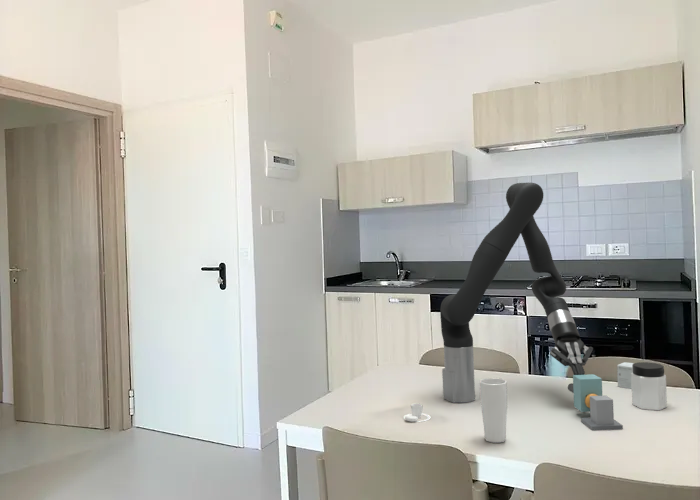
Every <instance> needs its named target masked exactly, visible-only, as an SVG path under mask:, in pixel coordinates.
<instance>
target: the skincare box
mask: <svg viewBox="0 0 700 500" xmlns="http://www.w3.org/2000/svg"><path fill="white" fill-rule="evenodd" d="M634 363H635V362H626V361H624V362H621V363H618V364H617V365H616V367H617V371H616V372H617V387H619V388H624V389H629V390H632V385H631V373H633V367H632V365H633V364H634Z"/></svg>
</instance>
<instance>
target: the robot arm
mask: <svg viewBox="0 0 700 500" xmlns="http://www.w3.org/2000/svg"><path fill="white" fill-rule="evenodd" d="M505 199H506V204H507V205H508V208H509V210H508V212H507V213H506V215H505V216H504V217H503V219H501V221H500V222H499V223H498V224H496V225H495V226H494V227H493V228H492V229H491V230H490V231H489V232H488V233H487V234H486V235H485V236H484V238H483V239H482V240H481V242H480V244H479V246H478V247H477V249H476V251H475V253H474V254H473V256H472V259H471V262H470V265H469V269H468V273H467V275H466V278H465V280H464V282H463V283H462V285H461V286H460V288H459V290H458V291H457V292H456V293H455V294H449V295H447V296H445V297H444V298H443V300H442V301H441V304H440V308H439V309H440V313H439V314H440V315H439V316H440V328H441V329H440V330H441V335H442V341H443V356H444V357H443V358H444V363H443V364H444V368H442V370H441V371H442V372H441V374H442V375H441V377H442V397H443V399H444V400H447V401H448V402H450V403H453V404H454V403H471V402H474V401H475V400H476V386H475V385H476V384H475V383H476V382H475V363H474V361H475V360H474V359H475V357H474V340H473V338H474V337H473V335H472V333H471V328H470V322H471V321H472V320H473V318H474V316H475V314H476V312H477V310H478V308H479V306H480V303H481V301H482V299H483V296H484V295H485V294H486V291H487V290H488V288H489V287H490V285H491V284H492V282H493V280H494V278H495V277H496V276H497V274H498V272H499V270H500V269H501V267H502V266H503V264H504V262H505V261H506V259H507V258H508V256H509V254H510V252H511V251H512V248H513V247H514V245H515V244H516V243H517V240H518V239H519V237H520V236H521V238H522V240H523V243H524V245H525V248H526V249H525V250H526V252H527V255H528V259H529V263H530V266H531V270H532V271H533V272H534V273H540V274H545V273H547V274H549V275H550V276H549V275H548V276H544V277H542V278H537V279H535V280H533V281H532V284H531V290H532V293H533V295H534V297H535V298H536V299H537V301H538V302H539V303H540V304H541V306H542V307H543V309H544V313H545V315H546V317H547V323H548V327H549V331H550V332H551V334H552V335H551V336H552V339H553V341H554V343H555V344H554V347H551V350H550V352H549V355H550V356H551V357H552V358H554V359H555V360H556V361H557V362H559V364H561V365H563V367H567V366H568V367H570V368H571V371H572V374H573V375H586V374H585V373H586V372H585V369H584V366H585V365H586V364H587V362H588V360H589V358H590V356H591V354H592V353H593V350H594V347H592V346H586V345H585V343H584V342H583V341H582V339H581V335H580V333H579V331H578V328H577V326H576V322H575V320H574V317H573V316H572V314H571V310H570V309H569V306H568V303H567V301H566V299H564V298H563V297H560V296H563V295H565V293H566V291H567V284H566V281H565V280H564V279H563V277H562V275H561V273H560V272H559V271H558V269H557V267H556V265H555V263H554V259H553V255H552V253H551V249H550V248H551V247H550V245H549V244H548V241H547V239H546V238H545V235H544V234H543V232H542V231H541V229H540V228H539V225H538V224H537V222H536V219H535V217H534V216H535V214H536V213H537V212H538V210H539V209H540V208H541V206H542V204H543V201H544V190H543V188H542V187H541V186H540V185H539V184H538V183H535V182H518V183H517V182H516V183H514V184H511V185H510V186H509V187H508V189H507V190H506V194H505ZM582 352H583V353H584V354H583V355H584V356H583V358H582V356H581V353H582Z"/></svg>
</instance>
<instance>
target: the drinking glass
mask: <svg viewBox="0 0 700 500" xmlns="http://www.w3.org/2000/svg"><path fill="white" fill-rule="evenodd" d="M507 382H508V381H507V380H506V379H503V378H498V377H486V378H481V379H480V380H479V398H480V399H479V400H480V407H481V415H482V423H483V424H482V425H483V434H484V435H483V436H484V439H485V440H486V441H487V442H489V443H493V444H501V443H504V442H505V441H506V440H507V418H508V417H507V415H508V383H507Z"/></svg>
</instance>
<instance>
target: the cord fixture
mask: <svg viewBox="0 0 700 500" xmlns="http://www.w3.org/2000/svg"><path fill="white" fill-rule="evenodd" d="M567 390H568V391H569V392H571V393H572V394H574V392H573V382H572V383H569V384H567ZM585 404H586V406H587V407H588V408H590V412H589V413H590V417H580V422H581V424H583V425H584V426H586V427H587V428H588V429H590V430H591V431H607V430H608V431H611V430H624V425H623V424H622V423H620V422H618V421H617V420H615V418H614V417H615V415H614V414H615V413H614V399H613V398H611V397H610V396H608V395H602V396H598V395H596V394H589V395H586V398H585Z"/></svg>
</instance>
